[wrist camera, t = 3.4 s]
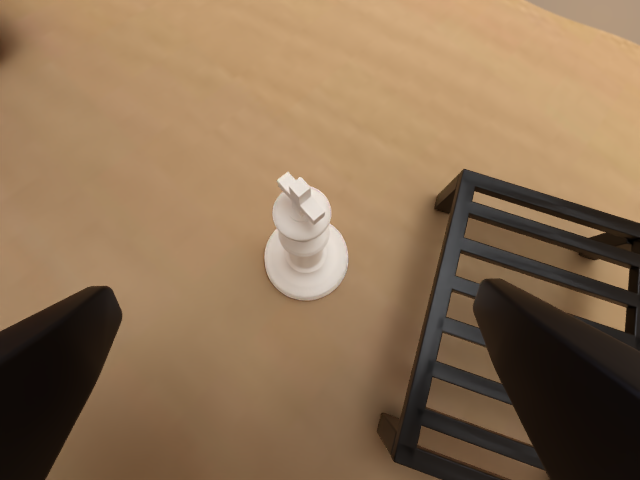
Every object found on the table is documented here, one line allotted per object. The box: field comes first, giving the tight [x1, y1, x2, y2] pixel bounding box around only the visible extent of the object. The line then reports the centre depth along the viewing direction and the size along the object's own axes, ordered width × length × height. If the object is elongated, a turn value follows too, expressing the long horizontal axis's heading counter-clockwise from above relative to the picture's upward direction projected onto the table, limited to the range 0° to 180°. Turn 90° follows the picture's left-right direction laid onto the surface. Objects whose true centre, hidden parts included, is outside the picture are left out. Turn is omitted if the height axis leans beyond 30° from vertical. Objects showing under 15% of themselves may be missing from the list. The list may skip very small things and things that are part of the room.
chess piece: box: [264, 172, 348, 300], centre depth 13 cm, size 5×5×10 cm
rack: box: [377, 169, 640, 480], centre depth 16 cm, size 14×10×4 cm
